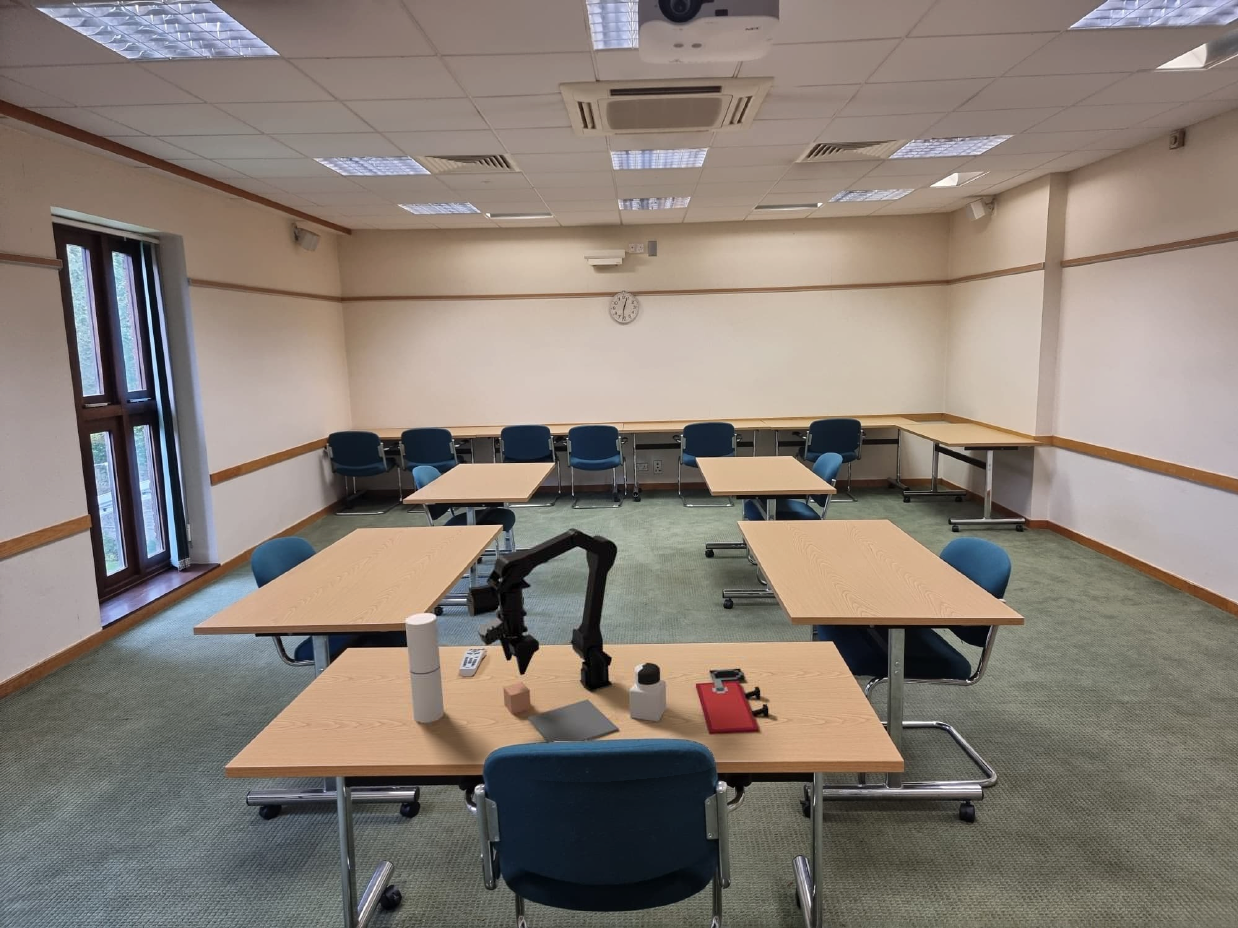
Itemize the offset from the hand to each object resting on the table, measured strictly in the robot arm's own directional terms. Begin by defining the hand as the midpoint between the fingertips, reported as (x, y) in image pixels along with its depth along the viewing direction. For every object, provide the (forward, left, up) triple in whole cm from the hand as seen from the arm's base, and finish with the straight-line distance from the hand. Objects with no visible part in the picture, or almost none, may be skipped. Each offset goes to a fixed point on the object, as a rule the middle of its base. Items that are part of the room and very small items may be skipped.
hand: (515, 667), depth 173 cm
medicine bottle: (-26, +20, -11) cm, 34 cm away
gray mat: (-8, +15, -10) cm, 20 cm away
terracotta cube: (0, 0, -11) cm, 11 cm away
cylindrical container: (+20, -8, -11) cm, 24 cm away
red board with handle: (-46, +26, -11) cm, 54 cm away
